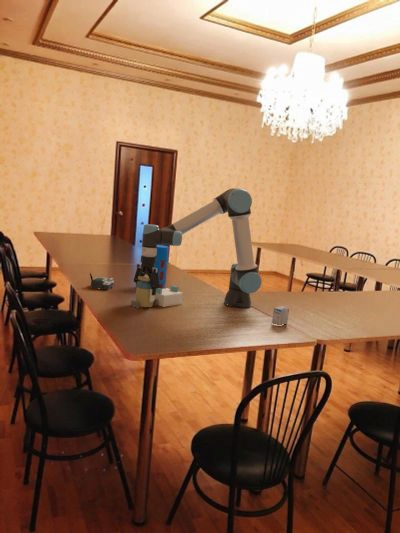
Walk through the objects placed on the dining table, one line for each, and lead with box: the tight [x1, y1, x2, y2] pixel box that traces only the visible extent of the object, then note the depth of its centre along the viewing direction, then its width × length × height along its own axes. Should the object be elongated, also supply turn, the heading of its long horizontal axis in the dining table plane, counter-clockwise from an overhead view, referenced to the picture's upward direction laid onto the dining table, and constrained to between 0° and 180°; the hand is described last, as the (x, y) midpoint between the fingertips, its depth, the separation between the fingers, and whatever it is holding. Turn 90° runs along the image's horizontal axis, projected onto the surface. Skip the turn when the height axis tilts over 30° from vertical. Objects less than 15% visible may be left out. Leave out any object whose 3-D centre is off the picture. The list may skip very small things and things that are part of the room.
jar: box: [135, 274, 154, 309], centre depth 232 cm, size 9×9×15 cm
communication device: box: [89, 272, 115, 291], centre depth 269 cm, size 12×24×9 cm, turn 176°
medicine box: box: [271, 305, 290, 325], centre depth 223 cm, size 8×4×9 cm, turn 141°
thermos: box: [151, 244, 169, 289], centre depth 280 cm, size 11×11×25 cm
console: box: [130, 284, 184, 309], centre depth 238 cm, size 12×28×8 cm, turn 138°
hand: (144, 298), depth 233 cm, fingers open, 10 cm apart
